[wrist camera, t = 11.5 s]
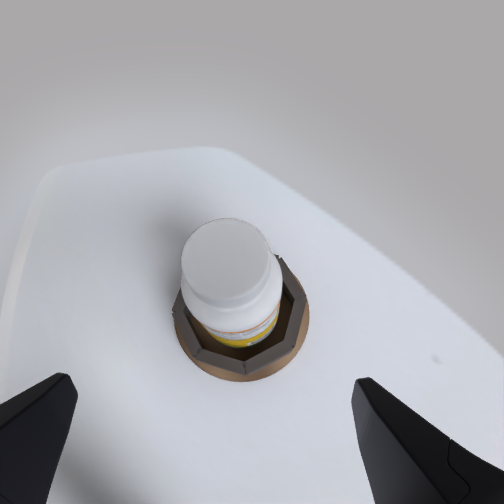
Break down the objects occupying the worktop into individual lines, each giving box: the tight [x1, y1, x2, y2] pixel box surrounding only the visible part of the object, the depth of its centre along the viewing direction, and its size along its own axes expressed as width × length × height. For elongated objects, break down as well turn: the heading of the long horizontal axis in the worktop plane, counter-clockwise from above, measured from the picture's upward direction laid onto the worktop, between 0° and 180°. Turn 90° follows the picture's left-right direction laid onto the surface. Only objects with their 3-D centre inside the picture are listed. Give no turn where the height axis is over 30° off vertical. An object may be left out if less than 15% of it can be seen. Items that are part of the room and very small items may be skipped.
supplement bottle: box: [181, 218, 282, 348], centre depth 18 cm, size 5×5×10 cm
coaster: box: [172, 254, 309, 382], centre depth 21 cm, size 10×10×3 cm
